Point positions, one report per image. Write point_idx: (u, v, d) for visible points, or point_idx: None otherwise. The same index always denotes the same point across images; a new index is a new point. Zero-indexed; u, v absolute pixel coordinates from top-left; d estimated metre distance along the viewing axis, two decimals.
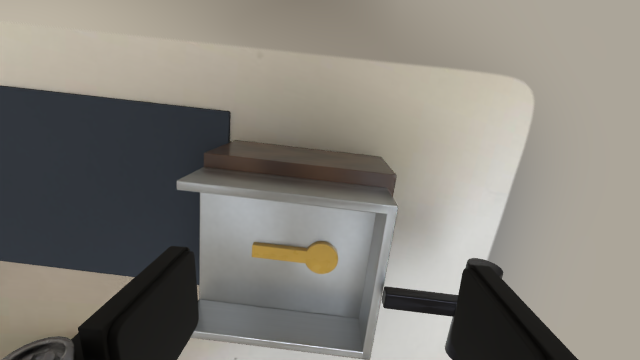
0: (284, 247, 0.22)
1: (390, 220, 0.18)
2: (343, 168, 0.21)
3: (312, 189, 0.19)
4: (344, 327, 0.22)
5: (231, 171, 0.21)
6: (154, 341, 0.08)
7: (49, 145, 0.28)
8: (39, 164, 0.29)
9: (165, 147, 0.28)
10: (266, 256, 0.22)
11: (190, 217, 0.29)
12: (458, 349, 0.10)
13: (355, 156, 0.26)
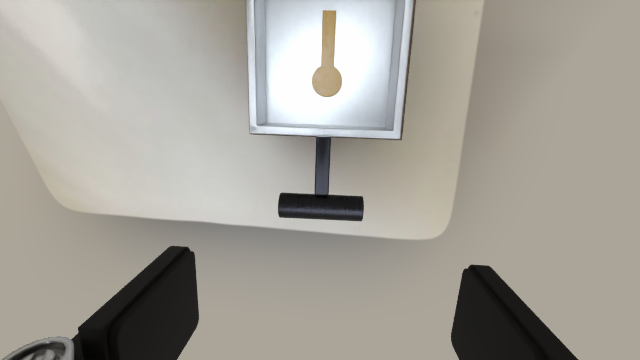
0: (334, 44, 0.23)
1: (387, 134, 0.22)
2: (405, 94, 0.25)
3: None
4: (263, 108, 0.24)
5: None
6: (154, 341, 0.08)
7: None
8: None
9: None
10: (325, 25, 0.23)
11: None
12: (458, 349, 0.10)
13: None
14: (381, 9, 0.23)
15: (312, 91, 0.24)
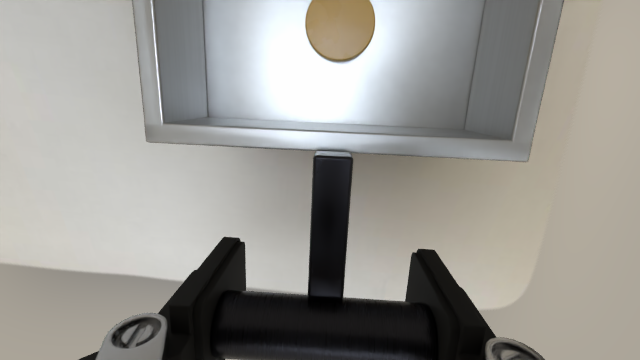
0: None
1: (498, 149, 0.08)
2: None
3: None
4: (193, 85, 0.10)
5: None
6: None
7: None
8: None
9: None
10: None
11: None
12: None
13: None
14: None
15: (307, 49, 0.11)
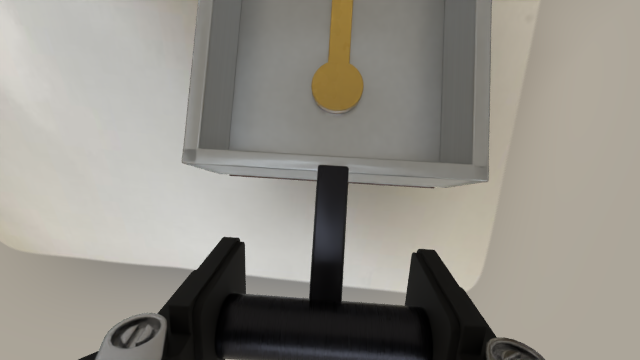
0: None
1: (463, 171, 0.11)
2: None
3: None
4: (221, 131, 0.13)
5: None
6: None
7: None
8: None
9: None
10: (336, 3, 0.14)
11: None
12: None
13: None
14: None
15: (311, 110, 0.14)
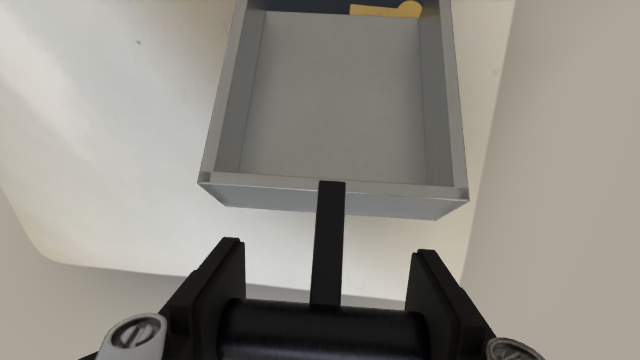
0: (377, 7, 0.25)
1: (446, 192, 0.12)
2: None
3: None
4: (232, 164, 0.15)
5: None
6: None
7: None
8: None
9: None
10: None
11: None
12: None
13: None
14: (403, 64, 0.18)
15: (312, 151, 0.16)
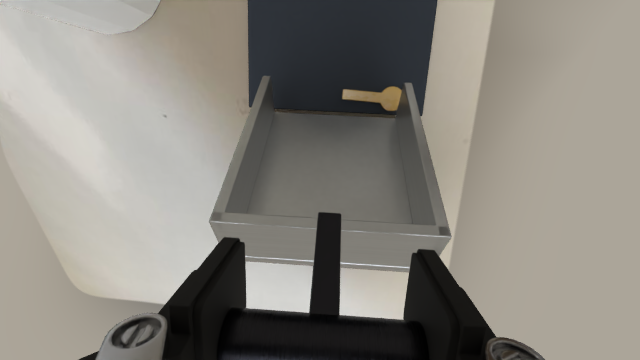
0: (365, 91, 0.30)
1: (430, 229, 0.14)
2: None
3: None
4: None
5: None
6: (220, 321, 0.09)
7: None
8: None
9: (390, 53, 0.30)
10: (352, 98, 0.30)
11: (321, 75, 0.30)
12: None
13: None
14: (385, 148, 0.22)
15: (310, 211, 0.18)
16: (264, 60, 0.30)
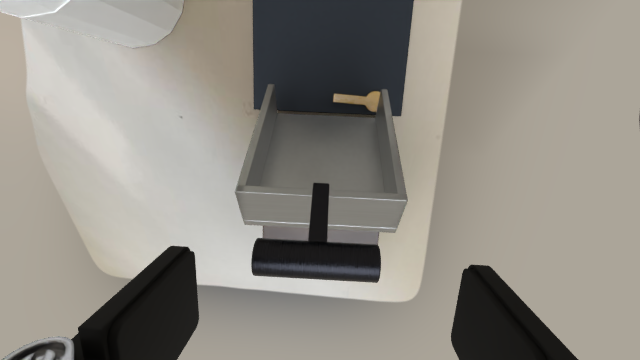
0: (352, 95, 0.36)
1: (392, 195, 0.19)
2: None
3: None
4: None
5: None
6: (154, 341, 0.08)
7: None
8: None
9: (373, 63, 0.35)
10: (342, 101, 0.36)
11: (315, 82, 0.36)
12: (458, 349, 0.10)
13: None
14: (367, 141, 0.28)
15: (307, 189, 0.24)
16: (267, 69, 0.36)
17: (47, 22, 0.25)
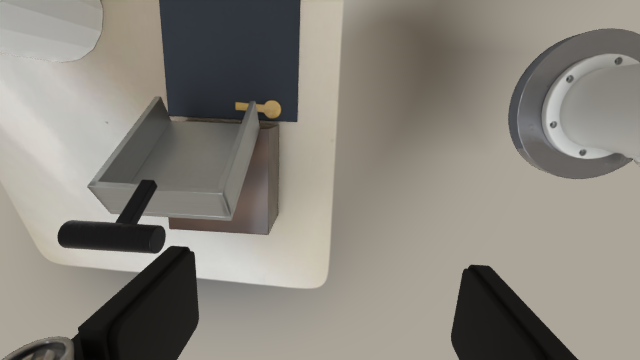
0: None
1: (211, 190, 0.24)
2: (268, 207, 0.38)
3: (240, 161, 0.28)
4: None
5: (255, 137, 0.34)
6: (154, 341, 0.08)
7: None
8: None
9: (268, 76, 0.40)
10: (243, 108, 0.41)
11: (220, 92, 0.41)
12: (458, 349, 0.10)
13: (276, 202, 0.44)
14: None
15: (169, 185, 0.29)
16: (177, 81, 0.41)
17: None
